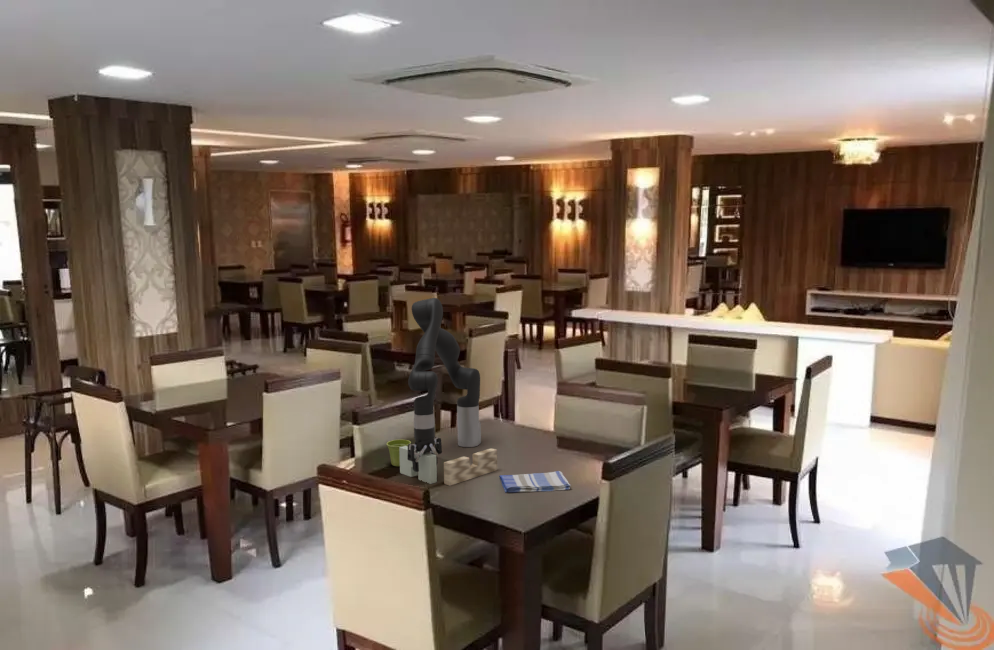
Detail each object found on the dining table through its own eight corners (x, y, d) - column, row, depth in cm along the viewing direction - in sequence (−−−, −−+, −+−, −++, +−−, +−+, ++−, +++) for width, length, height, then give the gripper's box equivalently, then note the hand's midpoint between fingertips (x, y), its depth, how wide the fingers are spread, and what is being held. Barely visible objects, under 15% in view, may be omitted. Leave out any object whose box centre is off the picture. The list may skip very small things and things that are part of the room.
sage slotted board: (406, 471, 278) (405, 445, 277) (436, 481, 266) (436, 455, 264) (400, 473, 276) (399, 447, 275) (430, 483, 264) (429, 457, 262)
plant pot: (404, 468, 281) (404, 447, 280) (383, 466, 284) (382, 445, 283) (415, 461, 290) (414, 440, 289) (394, 459, 293) (393, 438, 292)
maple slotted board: (491, 468, 280) (491, 448, 279) (497, 470, 278) (496, 449, 277) (444, 483, 263) (443, 462, 263) (449, 485, 261) (449, 464, 260)
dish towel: (571, 491, 255) (571, 483, 255) (505, 495, 253) (505, 487, 252) (561, 475, 272) (561, 468, 272) (499, 479, 270) (498, 471, 269)
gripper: (432, 420, 273) (433, 462, 275) (402, 427, 263) (403, 471, 265) (445, 423, 268) (446, 466, 269) (415, 431, 258) (416, 475, 260)
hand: (425, 468), depth 267 cm, fingers open, 8 cm apart
